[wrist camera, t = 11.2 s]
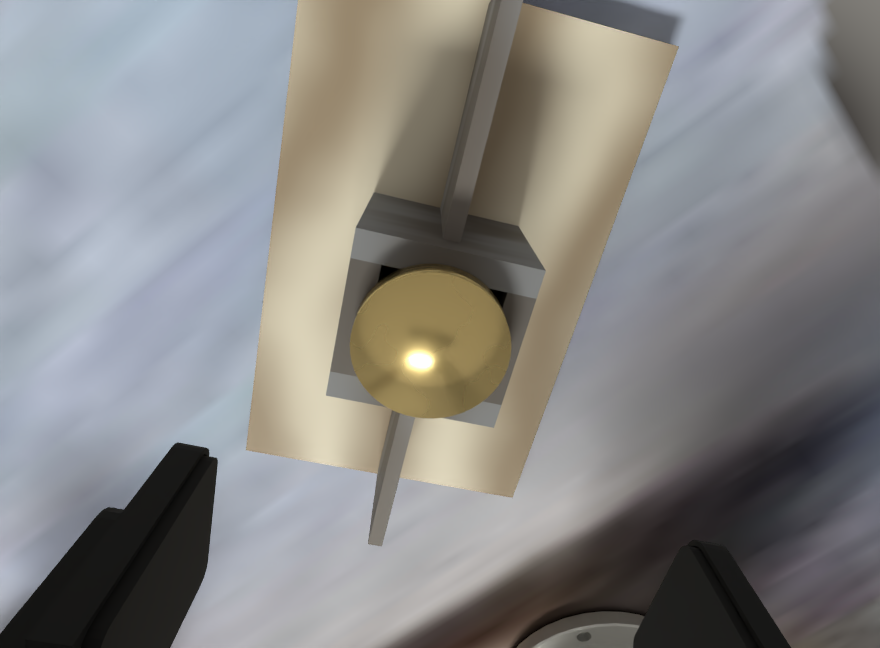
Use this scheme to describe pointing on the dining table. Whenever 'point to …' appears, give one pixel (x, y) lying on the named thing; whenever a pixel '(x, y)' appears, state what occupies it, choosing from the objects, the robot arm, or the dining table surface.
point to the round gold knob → (430, 341)
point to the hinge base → (440, 215)
